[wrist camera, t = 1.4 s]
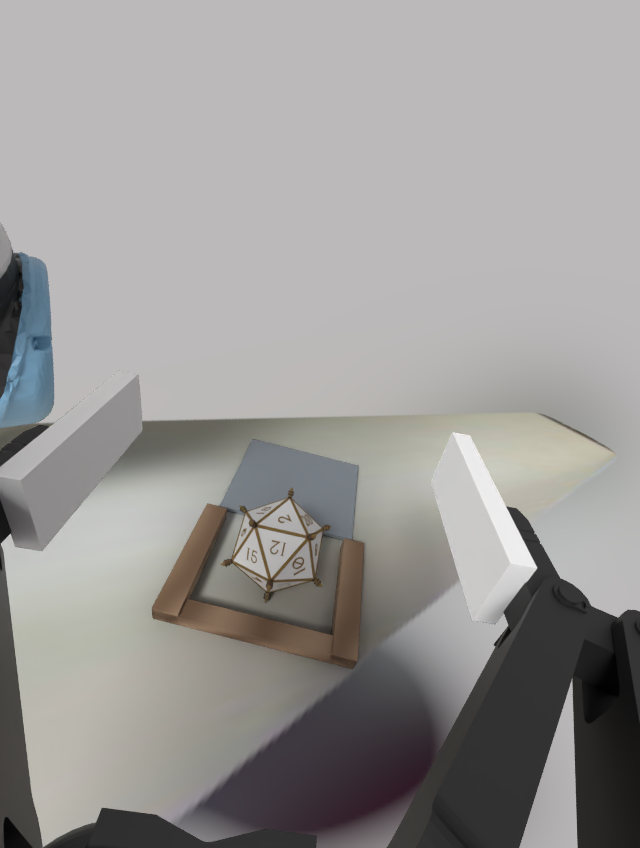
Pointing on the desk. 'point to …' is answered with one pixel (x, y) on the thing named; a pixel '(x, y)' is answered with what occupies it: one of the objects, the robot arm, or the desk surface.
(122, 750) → the desk surface
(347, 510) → the mat
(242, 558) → the game die
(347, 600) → the open frame
